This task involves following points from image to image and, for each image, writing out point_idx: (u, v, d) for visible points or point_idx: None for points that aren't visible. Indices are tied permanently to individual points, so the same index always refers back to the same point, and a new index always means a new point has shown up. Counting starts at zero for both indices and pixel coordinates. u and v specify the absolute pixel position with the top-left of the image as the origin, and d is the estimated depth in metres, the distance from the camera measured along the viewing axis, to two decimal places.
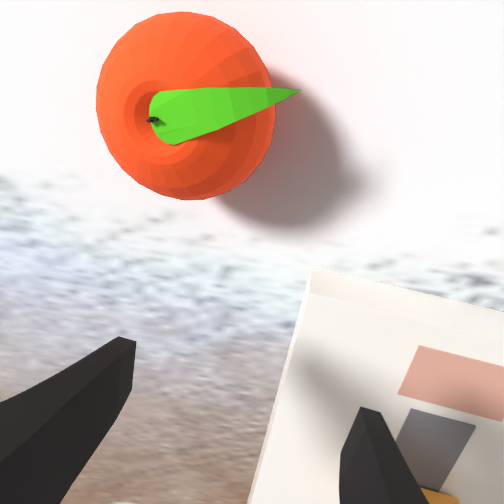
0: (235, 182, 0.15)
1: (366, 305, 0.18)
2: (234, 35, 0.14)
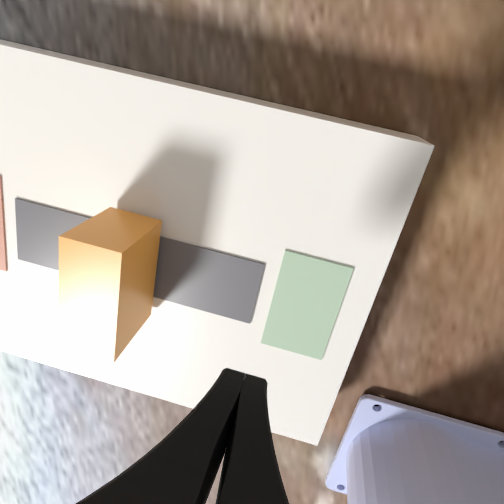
0: None
1: None
2: None
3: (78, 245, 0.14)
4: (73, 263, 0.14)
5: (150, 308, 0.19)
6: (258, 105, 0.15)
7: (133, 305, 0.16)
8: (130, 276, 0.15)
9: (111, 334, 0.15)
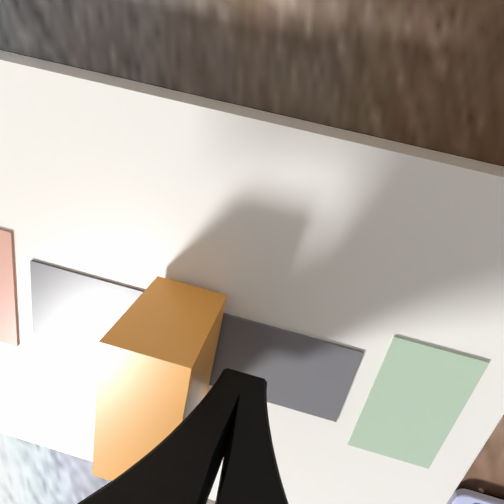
0: None
1: None
2: None
3: (126, 355, 0.10)
4: (118, 377, 0.10)
5: None
6: (376, 148, 0.11)
7: None
8: (194, 387, 0.11)
9: None
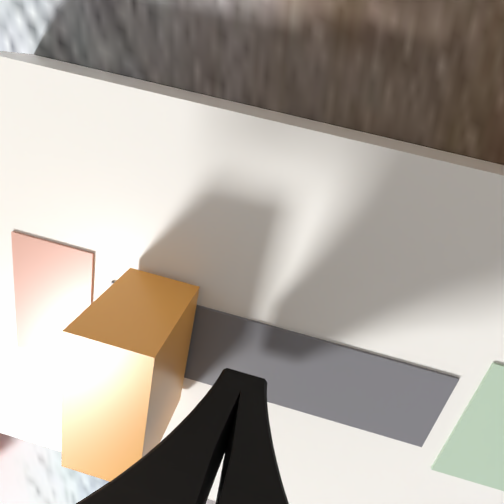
0: None
1: None
2: None
3: (90, 345, 0.10)
4: (83, 367, 0.10)
5: (180, 393, 0.15)
6: (495, 174, 0.10)
7: (163, 406, 0.12)
8: (161, 377, 0.11)
9: (135, 457, 0.11)
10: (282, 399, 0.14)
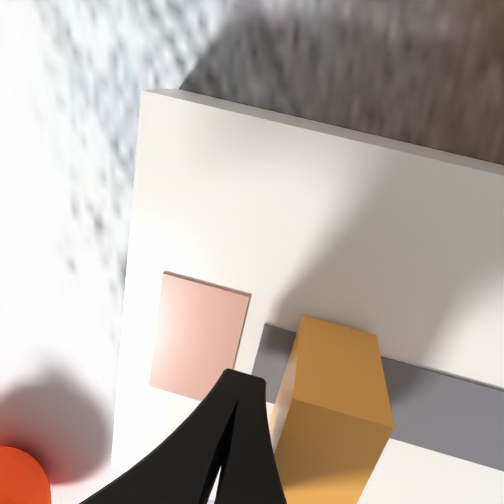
0: None
1: (114, 424, 0.17)
2: None
3: (321, 413, 0.09)
4: (306, 433, 0.10)
5: None
6: None
7: None
8: None
9: None
10: (433, 444, 0.14)
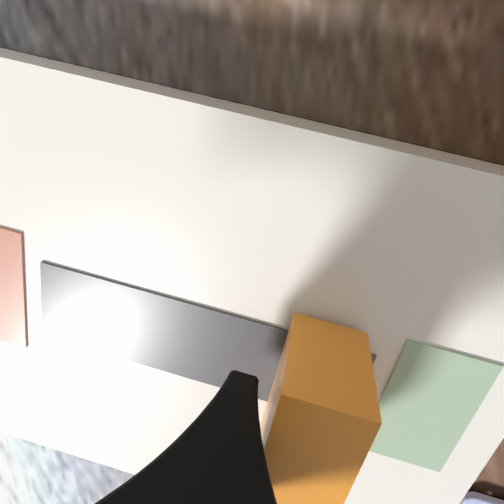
0: None
1: None
2: None
3: (309, 409, 0.09)
4: (295, 429, 0.10)
5: None
6: (393, 151, 0.11)
7: None
8: None
9: None
10: (211, 378, 0.15)
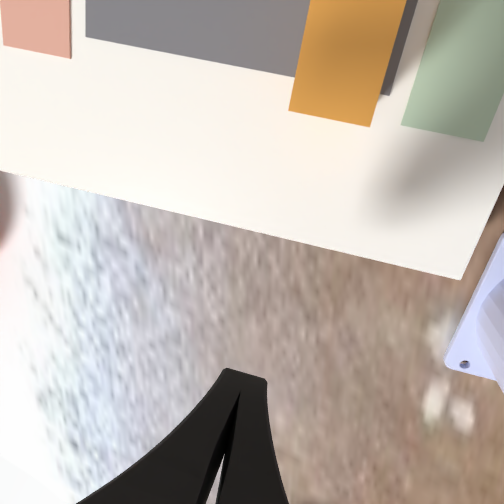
0: None
1: None
2: None
3: None
4: None
5: None
6: None
7: None
8: None
9: (377, 75, 0.11)
10: (252, 60, 0.15)
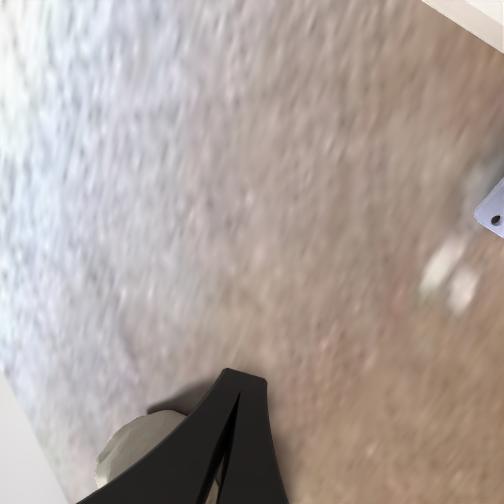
0: None
1: None
2: None
3: None
4: None
5: None
6: None
7: None
8: None
9: None
10: None
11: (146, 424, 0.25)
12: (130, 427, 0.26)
